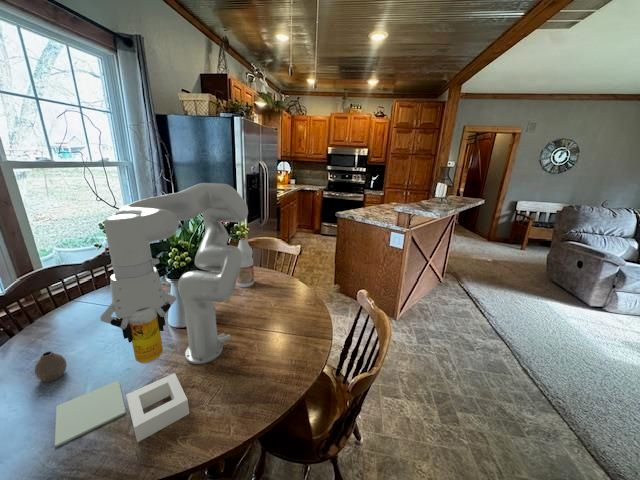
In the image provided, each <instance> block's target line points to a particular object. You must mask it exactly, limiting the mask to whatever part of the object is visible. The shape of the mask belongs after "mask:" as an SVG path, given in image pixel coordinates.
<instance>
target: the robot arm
mask: <svg viewBox="0 0 640 480" xmlns="http://www.w3.org/2000/svg"><path fill="white" fill-rule="evenodd" d="M200 215H202V219H203V222H204V224H203V225H204V229H205V231H204V233H203V234H204V235H203V238H202V239H201V241H200V244H199V247H198V249H197V251H196V254H195V257H194V265H195V266H196V267H197V268H198V269H199V270H189V271H187V272H184V273H183V274H182V275H181V276H180V278H179V279H178V283H177V289H178V293H179V296H180V298H181V301H182V304H183V309H184V315H185V325H186V332H187V343H188V347H187V348H186V349H185V352H184V358H185V360H186V361H187V362H188V363H191V364H193V365H202V364H206V363H210V362H212V361H215V360H216V359H217V358H218V357H219V356H220V355H221V354H222V352H223V347H224V345H223V343H224V342H227V341H229V340H232V339H231V338H232V336H231V335H230V334H227V335H226V334H225V332H223V333H220V334H219V335H218V330H217V329H218V328H217V318H216V316H217V315H216V307H215V303H214V302H216V303H225V302H226V301H229V300H230V298H231V297H232V295H233V293H234V289H235V287H236V285H237V277H238V274H239V271H240V268H241V264H242V253H241V251H240V249H239V248H237V247H238V246H234V245H228V242H229V241H228V240H229V233H228V231H227V229H226V227H224V225H223V223H222V222H230V223H243V222H244V221H246V219H247V217H248V215H249V209H248V204H247V203H246V201H245V200H244V198H243V197H242V196H241V195H240V193H239V192H238V191H237V190H236V188H235V187H233V186H231V185H230V184H228V183H215V182H201V183H197V184H195V185H192V186H190V187H187V188H186V189H183V190H181V191H178V192H173V193H167V194H163V195H158V196H152V197H148V198H144V199H139V200H136V201H133V202H131V203H129V204H126V205H124V206H121V208H119V209H118V210H117V211H116V212H115V214H114V215H111V216H108V217H107V218H106V219H105V220H104V222H103V226H104V232H105V236H106V241H107V245H108V251H109V255H110V260H111V264H112V265H111V266H112V270H113V274H111V275H110V277H109V278H110V280H109V282H110V284H109V286H110V287H109V289H110V295H111V302H112V303H110V305H109V306H108V307H107V308H106V310H105V311H104V312H103V313H102V314H101V315H100V317H99V318H100V321H101V322H104V323H107V324H109V325H111V326H114V327H117V328H120V329H121V331H122V334H123V335H122V336H123V339H124V340H125V339H127V340H128V343H129V344H130V343H132V336H131V331H130V327H129V325H128V321H129V317H131V316H132V315H133V314H134V313H135V312H137V311H142V310H145V309H148V308H151V309H153V310H154V309H156V311H157V316H158V322H159V328H160V332H164V331H165V330H164V327H165V326H166V320H165V316H166V314H167V313H168V311H169V310H170V308H171V306H172V305H173V304H175V302H176V301H177V297H176V296H175V295H174V294H172V293H170V292H168V291H165V290H164V286H163V285H162V280H161V277H160V274H159V272H158V269H157V267H155V266H157V265H159V264H160V259H159V258H153V257H152V252H151V245H150V244H151V243H152V242H157V241H161V240H167V239H168V238H171V237H173V236H174V235H175V234H176V233H177V231H178V229H179V227H180V225H179V224H180V222H181V221H182V222H183V221H188V220H192V219H195V218H196V217H198V216H200ZM166 299H167V300H166ZM113 314H115V316H116V317H115V316H112V315H113Z"/></svg>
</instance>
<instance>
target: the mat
mask: <svg viewBox="0 0 640 480" xmlns="http://www.w3.org/2000/svg"><path fill="white" fill-rule="evenodd" d="M124 403H125V402H124V398H123V393H122V388H121V385H120V381H119V380H115V381H114V382H110V383H109V384H106V385H104V386H101V387H98V388H96V389H94V390H92V391H89V392H87V393H85V394H82V395H79V396H77V397H75V398H72V399H70V400H68V401H65V402H63V403H61V404H58V405H56V406H55V408H56V409H55V428H54V429H55V432H54V433H55V434H54V448H57V447H59V446H62V445H64V444H65V443H67V442H70V441H72V440H73V439H77V438H78V437H80V436H82V435H84V434H86V433H88V432H90V431H92V430H95V429H96V428H99V427H101V426H102V425H105V424H107V423H109V422H112V421H114V420H115V419H118V418H119V417H122V416H123V415H125V414H126V408H125V404H124Z"/></svg>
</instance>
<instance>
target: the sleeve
mask: <svg viewBox="0 0 640 480" xmlns="http://www.w3.org/2000/svg"><path fill="white" fill-rule="evenodd" d="M125 396H126V400H127V406H128V409H129V414H130V417H131V421H132V426H133V429H134V434H135V439H136V442H137V443H139V442H141V441H143V440H144V439H146V438H148V437H151V436H152V435H154V434H155V433H157V432H159V431H160V430H163V429H164V428H166V427H168V426H169V425H172V424H173V423H175V422H177V421H179V420H180V419H182V418H185V417H186V416H188V415H189V414H190V409H189V407H190V406H189V400H188V397H187V396H186V394H185V391H184V390H183V386H182V385H181V382H180V381H179V379H178V376H177V375H176V373H175V372H173V373H171V374H169V375H167V376H164V377H163V378H161V379H158V380H156V381H154V382H151V383H149V384H147V385H144V386H142V387H140V388H138V389H135V390H133V391H132V392H128V393H126V395H125ZM168 397H170V398H171V400H169V401H167V402H165V403H163V404H161V405H159V406H157V407H155V408H153V409H151V410H149V411H147V412H145V413H144V409H146V408H148V407H150V406H152V405H154V404H156V403H158V402H160V401H162V400H164V399H167V398H168Z"/></svg>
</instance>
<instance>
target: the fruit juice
mask: <svg viewBox="0 0 640 480" xmlns="http://www.w3.org/2000/svg"><path fill="white" fill-rule="evenodd" d="M238 240H239V239H238ZM248 241H249V236H248V235H246V237H245V238H244V239H242V240H239V241H238V245H237V246H236V247H237V248H239V249H240V251H241V253H242V264H241V268H240V271H239V274H238V277H237V281H236V286H237V287H239V288H249V287H252V286H253V285H254V283H255V276H254V274H255V271H254V258H253V253H254V251H253V249H252V247H251V246H250V244H249V242H248Z"/></svg>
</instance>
